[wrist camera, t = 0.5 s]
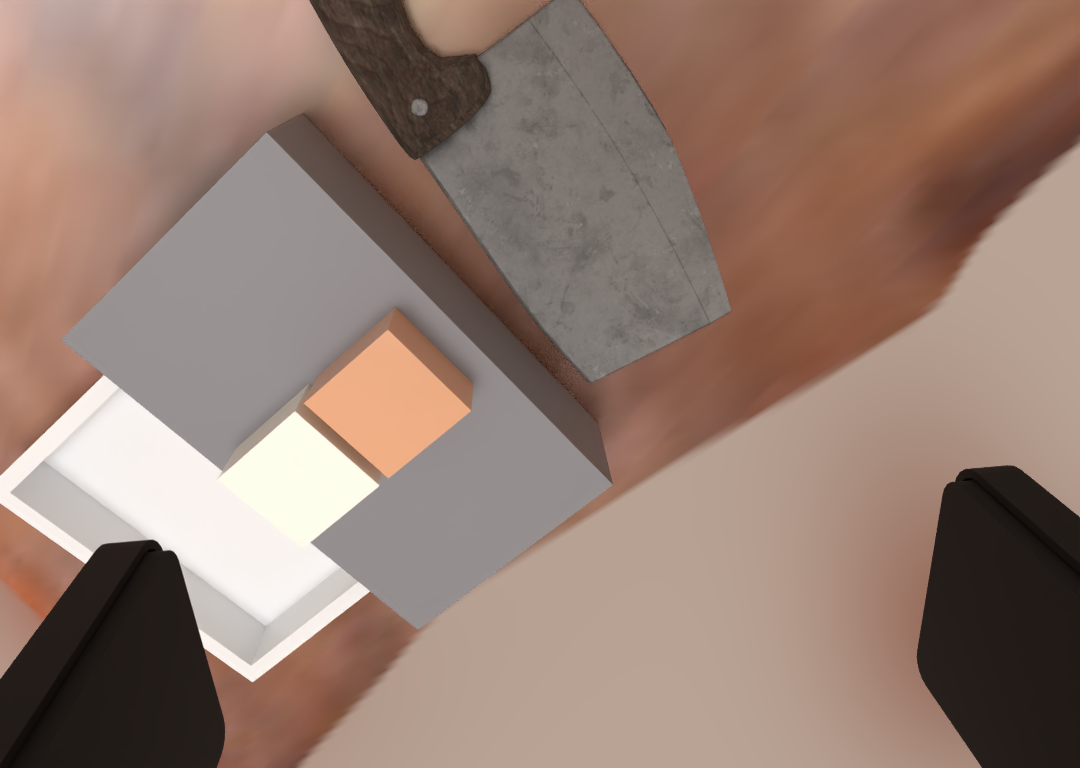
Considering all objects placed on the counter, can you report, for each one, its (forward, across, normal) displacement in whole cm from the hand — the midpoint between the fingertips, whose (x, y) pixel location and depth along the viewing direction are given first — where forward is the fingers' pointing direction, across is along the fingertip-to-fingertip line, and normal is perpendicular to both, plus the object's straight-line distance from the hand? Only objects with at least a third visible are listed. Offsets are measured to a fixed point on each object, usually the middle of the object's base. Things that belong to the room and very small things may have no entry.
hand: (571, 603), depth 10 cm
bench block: (+29, +7, +8) cm, 31 cm away
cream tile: (+23, +9, +10) cm, 27 cm away
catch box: (+30, +16, +15) cm, 37 cm away
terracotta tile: (+23, +5, +6) cm, 25 cm away
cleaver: (+30, 0, -4) cm, 30 cm away
